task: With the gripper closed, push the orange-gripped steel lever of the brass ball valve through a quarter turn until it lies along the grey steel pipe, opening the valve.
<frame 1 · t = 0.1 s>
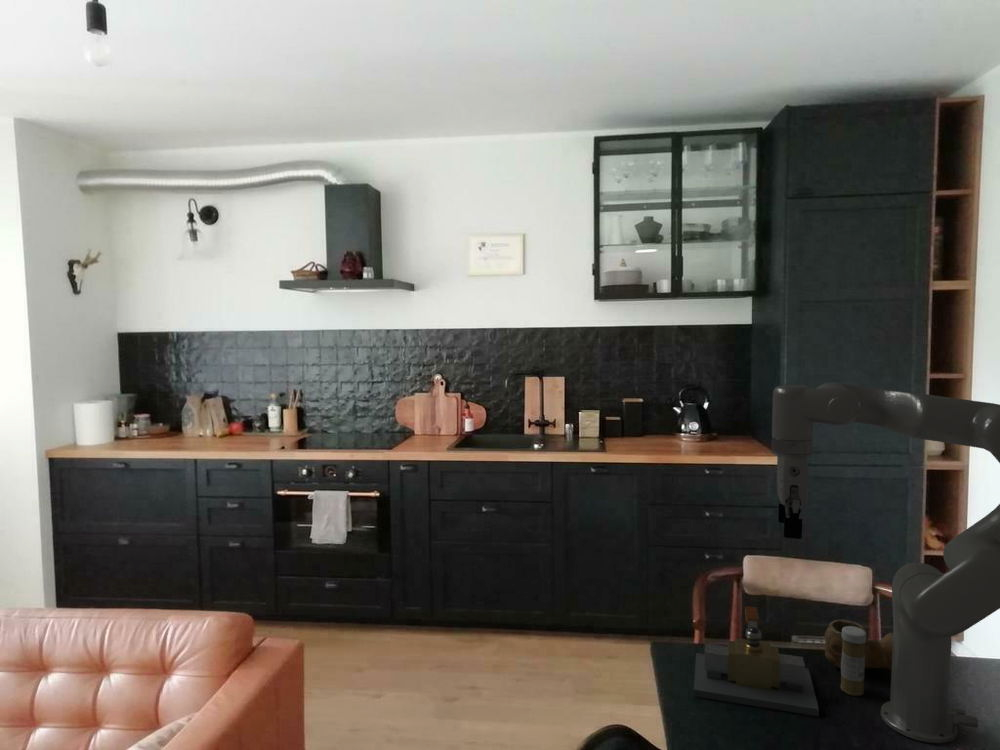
hand: (789, 530, 134), 37 cm above the table, tool pointing down, fingers open, 9 cm apart
pipe: (863, 671, 149), on the table
lever: (752, 621, 148), point 12 cm above the table, hinge at -90.0°
valve board: (752, 685, 144), on the table
valve: (753, 658, 143), on the valve board, point 6 cm above the table
sprinkles bottle: (851, 691, 141), on the table
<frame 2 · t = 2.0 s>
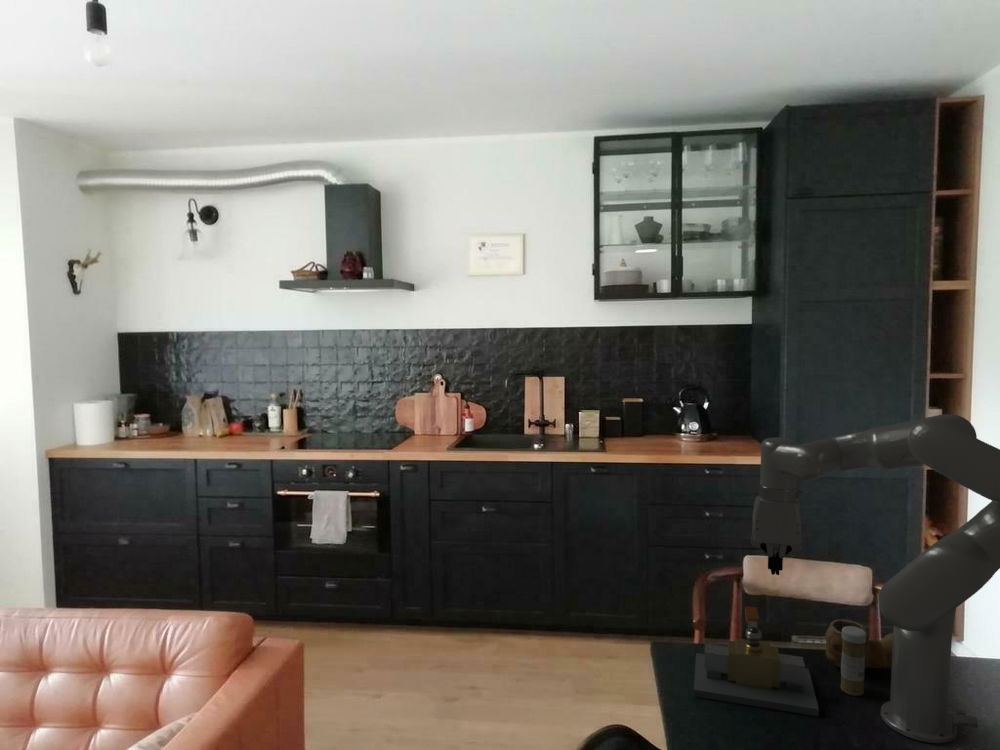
hand: (774, 572, 150), 22 cm above the table, tool pointing down, fingers closed
nothing on the table moved.
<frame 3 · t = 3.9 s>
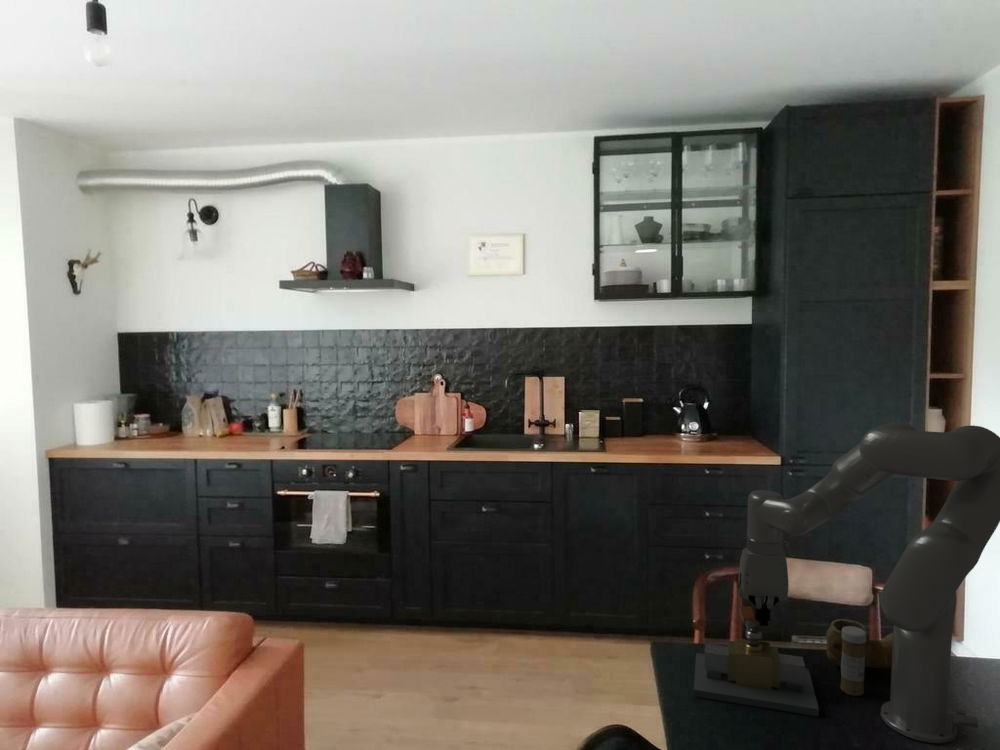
hand: (762, 623, 152), 10 cm above the table, tool pointing down, fingers closed
lever: (749, 621, 148), point 12 cm above the table, hinge at -84.1°, touching gripper
everything else where it was.
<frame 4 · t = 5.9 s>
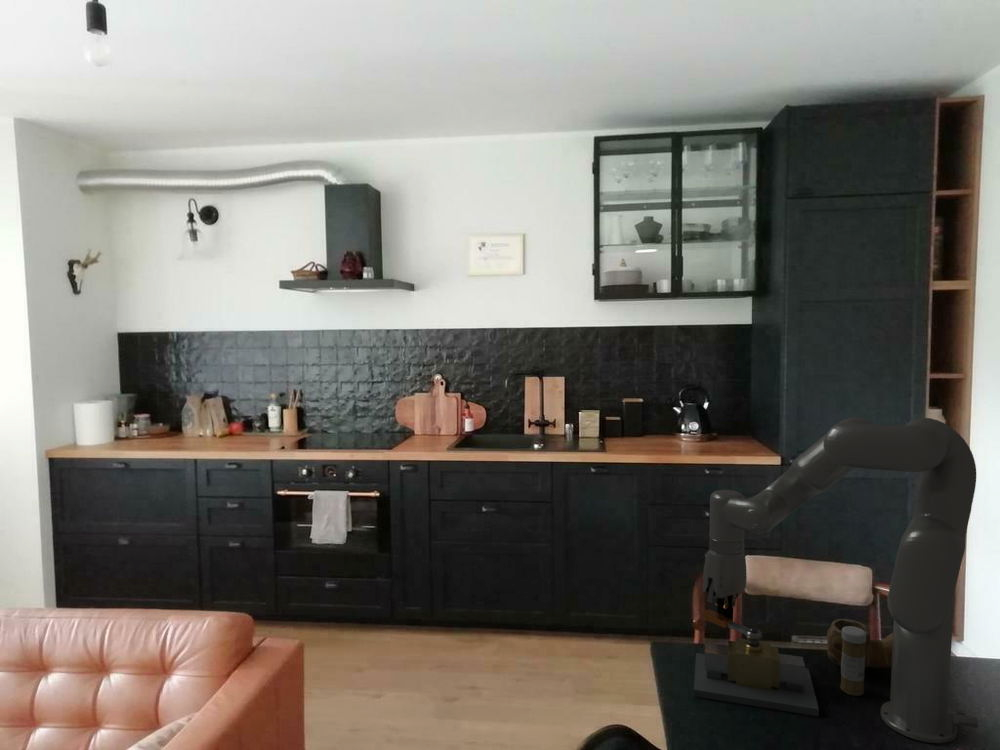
hand: (724, 622, 153), 10 cm above the table, tool pointing down, fingers closed
lever: (731, 623, 147), point 12 cm above the table, hinge at -36.0°, touching gripper
everything else where it was.
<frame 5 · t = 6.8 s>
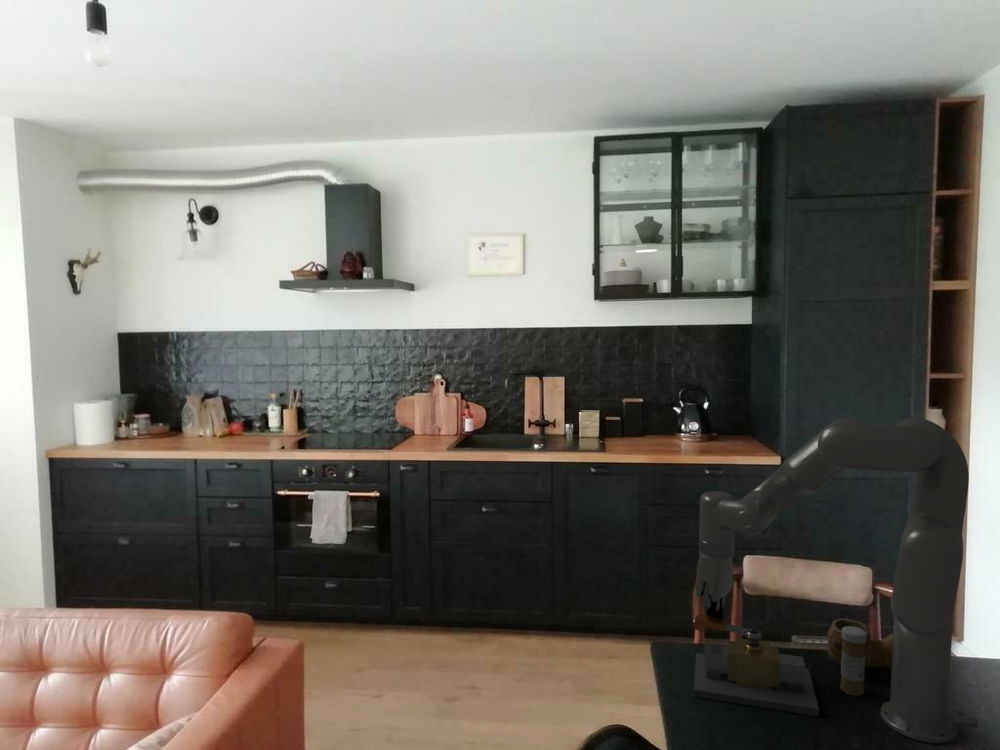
hand: (714, 625, 151), 10 cm above the table, tool pointing down, fingers closed
lever: (728, 626, 146), point 12 cm above the table, hinge at -19.1°, touching gripper
everything else where it was.
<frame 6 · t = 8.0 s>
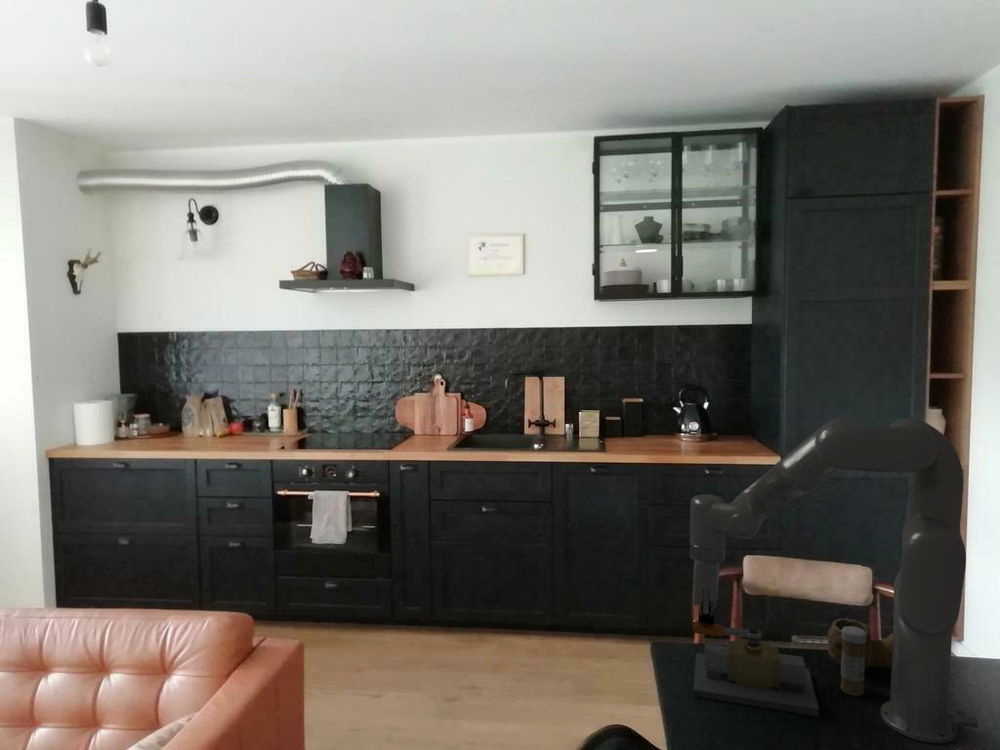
hand: (706, 630, 149), 10 cm above the table, tool pointing down, fingers closed
lever: (727, 629, 144), point 12 cm above the table, hinge at 2.0°, touching gripper
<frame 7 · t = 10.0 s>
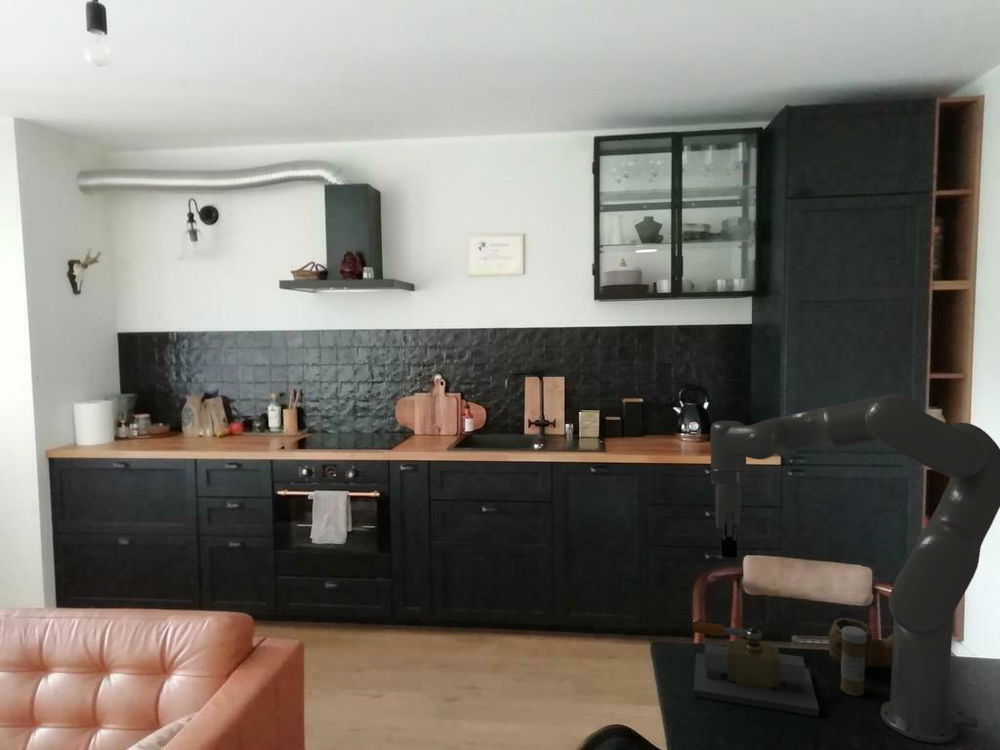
hand: (729, 555, 150), 26 cm above the table, tool pointing down, fingers closed
lever: (726, 629, 144), point 12 cm above the table, hinge at 0.8°
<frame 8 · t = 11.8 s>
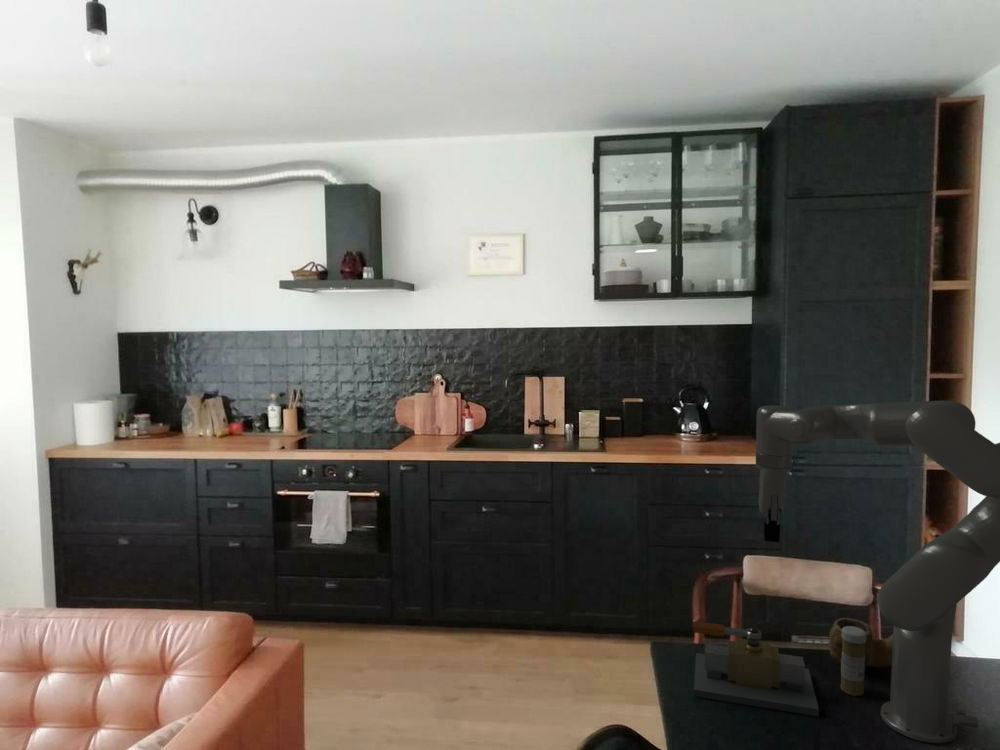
hand: (771, 540, 150), 29 cm above the table, tool pointing down, fingers closed
at the end: lever at +1° (first picture: -90°); pipe moved 1.6 cm from its start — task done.
